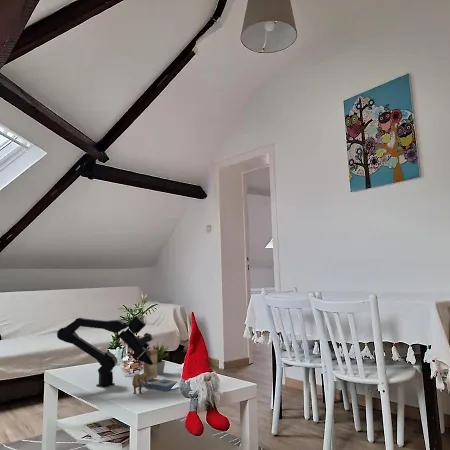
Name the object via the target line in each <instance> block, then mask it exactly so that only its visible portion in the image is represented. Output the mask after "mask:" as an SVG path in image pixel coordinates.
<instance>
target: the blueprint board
mask: <svg viewBox="0 0 450 450" xmlns="http://www.w3.org/2000/svg"><path fill="white" fill-rule="evenodd" d="M159 380H160V379H157V378H153V379H147V383H148V389H150V390H151V389H152V390H157V391H162V392H170V391H172V390H171V388H172V387H173V386H174V385H175V384H176V383H175V384H172V385H169V386H166V387H165V386H160V385H154V384H153V382H156V381H159ZM160 383H162V384H167V383H171V382H167V381H164V382H160ZM144 385H145V382H143V384H142V388H144V389H146V387H147V385H146V386H145V387H144Z"/></svg>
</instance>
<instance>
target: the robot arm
mask: <svg viewBox="0 0 450 450" xmlns="http://www.w3.org/2000/svg"><path fill="white" fill-rule="evenodd" d="M146 325H147V324H146V322H145V321H144V320H143V319H142V318H141V317H139V316H138V315H135V316H134V317H133V318H132V319H131V320H130V321H129V322H124V321H123V320H121V319H112V320H101V319H92V318H91V319H90V318H83V317H77V318H75V320H74V321H72V322H70V323H69V324H68V325H66V326H64V327H60V328H59V330H57V332H56V337H57V339H58V340H59V341H60V340H61V341H62V342H64V343H68V344H71V345H73V346H75V347H77V348H78V349H80V350H81V351H83V352H84V353H85V354H87V355H89V356H90V357H92V358H94V359H95V360H96V361H97V362H98V364H99V365H100V367H99V368H98V369H97V372H98V383H97V384H95V386H96V387H101V388H108V387H111V386H115V385H116V383H114V375H113V369H114V368H115V367H116V366H117V364H118V357H117V356H116V354H114V353H112V352H111V351H110V350H107V351H105V352H104V351H102V350H101V349H99V348H97V347H95V346H94V345H92V344H91V343H89V342H88V341H87V340H85V339H83V338H82V337H80V336H79V334H78V333H77V332H76V331H77V330H78V329H80V327H83V328H92V329H100V330H106V331H108V332H111V333H114V334H115V337H116V339H115V341H116V342H117V341H119V340H121V341H122V342H124V344H126V346H127V348H128V349H130V350H131V351H132V352H133V354H132V359H133V360H134V361H136V360H137V361H139V362H142V363H143V364H144V363H147V364H150V365H152V364H153V362H152V361H151V359H150V358H149V357H148V355H147V350H149V349H150V348H151V347H150V343H149V342H151V341H153V339H154V338H153V337H152V334H151V333H148V332H145V333H144V334H143V336H141V337H139V336H136V335H135V334H139V333H140V332H141V330H142V329H144V328H145V327H146ZM125 329H126V330H125ZM117 333H119V334H117ZM145 350H146V351H145Z"/></svg>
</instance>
